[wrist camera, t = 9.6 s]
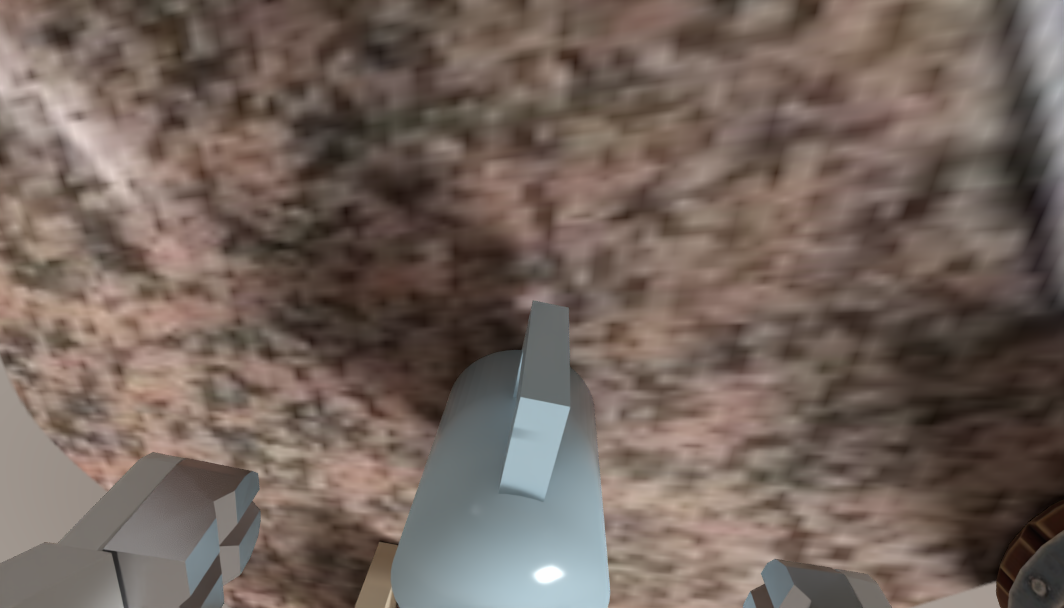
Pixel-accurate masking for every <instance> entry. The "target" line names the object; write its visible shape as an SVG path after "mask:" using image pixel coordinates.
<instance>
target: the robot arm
mask: <svg viewBox="0 0 1064 608" xmlns="http://www.w3.org/2000/svg"><path fill="white" fill-rule="evenodd" d="M258 491H259V479H258V473H256V472H253V471H249V470H244V469H239V468H234V467H229V466H224V465H219V464H214V463H209V462H204V461H199V460H193V459H188V458H181V457H176V456H171V455H165V454H160V453H155V452H152V453H150V454H148V455H146V456H144V457H142V458H141V459H139V460H138V461H137V462H136V463H135V464H134V465H133V466H132V467H131V468H130V469H129V471H128V472H127V473H126V474H125V475H124V476H123V477H122V478H121V479H120V480H119V481H118V482H117V483H116V484H115V485H114V486H113V487H112V488H111V489H110V490H109V491H108V492H107V493H106V494H105V495H104V496H103V497H102V498H101V499H100V500H99V501H98V502H97V503H96V504H95V505H94V506H93V507H92V508H91V510H89V511H88V512H87V513H86V515H84V517H83V518H82V519H81V520H80V521H79V522H78V523H77V524H76V525H75V526H74V527H73V528H72V529H71V530H70V531H69V532H68V533H67V534H66V535H65V536H64V537H63V538H62V539H61V540H60V541H59V542H58V543H57V544H56V543H48V542H44V543H42V544H40V545H38V546H36V547H34V548H32V549H30V550H28V551H26V552H23V553H21V554H19V555H17V556H15V557H13V558H11V559H9V560H7V561H4V562H2V563H0V608H222V606H223V604H224V594H223V586H224V585H225V584H227V583H228V582H230V581H231V580H233V579H234V578H236V577H238V576H239V575H241V573H242V571H243V569H244V567H245V566H246V564H247V562H248V560H249V558H250V557H251V554H252V551H253V549H254V546H255V543H256V541H257V538H258V534H259V528H260V522H261V520H260V509H259V508H258V507H257V506H256V505H255V503H254V502H253V501H252V500H253V499H254V497H255V495H256V494H257V492H258ZM761 575H762V577H763V580H764V583H765V584H763V585H761V586H760V587H758V588H756V589H754V590H752V591H750V593H749V595H748V597H747V599H746V601H745V603H744V605H743V608H892V607H891V605H890V604H889V602H888V600H887V599H886V597H885V595H884V594H883V592H882V590H881V589H880V587H879V585H878V584H877V582H876V581H875V580H874V579H873V578H871V577H870V576H869V575H868V574H864V573H858V572H852V571H846V570H840V569H833V568H830V567H824V566H817V565H811V564H804V563H798V562H792V561H785V560H779V559H774V560H772V561H770V562H769V563H767V565H766V566H765V568H764V569H763V571H762V573H761Z"/></svg>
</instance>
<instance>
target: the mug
mask: <svg viewBox="0 0 1064 608" xmlns="http://www.w3.org/2000/svg"><path fill="white" fill-rule="evenodd" d="M996 595H997V598H998V602H999V605H1000V607H1001V608H1064V499H1063V500H1061V501H1059V502H1057V503H1055V504H1053V505H1051V506H1050V507H1049V508H1047V509H1046V510H1045V511H1043V512H1042V513H1041V514H1039V515H1038V516H1037V517H1035V518H1034V519H1033V520H1031V521H1030V522H1029V523H1027V524H1026V526H1025V527H1024V528H1023V529H1022V530H1021V531H1020V532H1019V534H1018V535H1017V536H1016V537H1015V538H1014V539H1013V540H1012V542H1011V543H1010V544H1009V546H1008V548H1007V551H1006V553H1005V555H1004V557H1003V559H1002V561H1001V563H1000V568H999V572H998V576H997V580H996Z"/></svg>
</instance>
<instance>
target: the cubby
mask: <svg viewBox="0 0 1064 608" xmlns="http://www.w3.org/2000/svg"><path fill="white" fill-rule="evenodd" d="M397 548H398V545H394V544H389V543H383V542H379V544H378V547H377V549H376V552H375V555H374V557H373V560H372V562H371V565H370V568H369V570H368V573H367V576H366V578H365V581H364V584H363V586H362V589H361V592H360V594H359V597H358V600H357V602H356V605H355V608H396V603H397V602H396V600H395V597H394V594H393V591H392V586H391V568H392V563H393V559H394V556H395V554H396V551H397Z"/></svg>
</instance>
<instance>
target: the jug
mask: <svg viewBox="0 0 1064 608" xmlns="http://www.w3.org/2000/svg"><path fill="white" fill-rule="evenodd" d="M391 586H392V591H393V594H394V597H395V600H396V602H397V603H398V605H399V607H400V608H607V607H608V604H609V598H610V584H609V572H608V561H607V549H606V537H605V525H604V514H603V502H602V490H601V479H600V467H599V455H598V444H597V432H596V420H595V409H594V402H593V398H592V395H591V393H590V391H589V389H588V387H587V385H586V384H585V382H584V381H583V379H582V378H581V377H580V376H579V375H578V374H577V373H576V372H575V371H574V370H573V369H572V368H571V367H570V352H569V308H567V307H562V306H558V305H553V304H548V303H543V302H538V301H533V302H532V307H531V311H530V316H529V320H528V325H527V329H526V334H525V338H524V343H523V347H522V350H507V351H501V352H496V353H493V354H490V355H487V356H485V357H483V358H481V359H479V360H477V361H475V362H474V363H472V364H471V365H470V366H468V367H467V368H466V369H465V370H464V371H463V372H462V373H461V374H460V376H459V377H458V378H457V380H456V381H455V383H454V385H453V387H452V389H451V392H450V395H449V398H448V401H447V404H446V407H445V409H444V412H443V415H442V418H441V421H440V424H439V427H438V430H437V433H436V436H435V439H434V442H433V445H432V448H431V451H430V454H429V457H428V459H427V462H426V465H425V468H424V471H423V474H422V477H421V480H420V483H419V486H418V489H417V492H416V495H415V498H414V501H413V504H412V506H411V509H410V512H409V515H408V518H407V521H406V524H405V527H404V530H403V533H402V536H401V539H400V542H399V545H398V548H397V551H396V554H395V556H394V559H393V563H392V568H391Z"/></svg>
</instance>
